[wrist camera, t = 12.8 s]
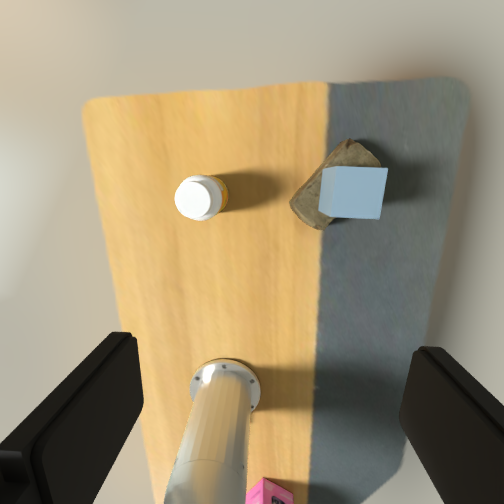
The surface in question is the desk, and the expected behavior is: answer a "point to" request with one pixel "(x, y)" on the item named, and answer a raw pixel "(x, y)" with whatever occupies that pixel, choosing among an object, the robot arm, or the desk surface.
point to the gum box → (268, 494)
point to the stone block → (309, 193)
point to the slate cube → (352, 191)
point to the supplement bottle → (201, 197)
